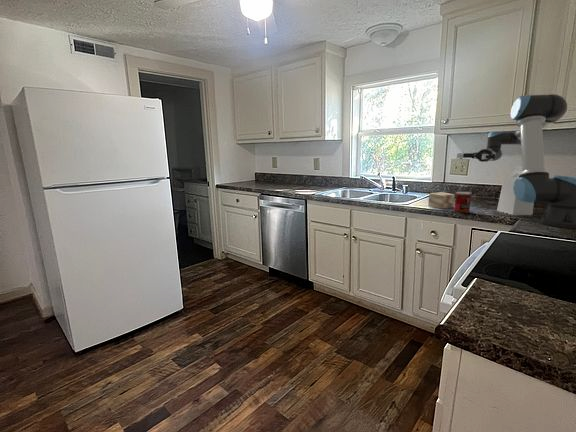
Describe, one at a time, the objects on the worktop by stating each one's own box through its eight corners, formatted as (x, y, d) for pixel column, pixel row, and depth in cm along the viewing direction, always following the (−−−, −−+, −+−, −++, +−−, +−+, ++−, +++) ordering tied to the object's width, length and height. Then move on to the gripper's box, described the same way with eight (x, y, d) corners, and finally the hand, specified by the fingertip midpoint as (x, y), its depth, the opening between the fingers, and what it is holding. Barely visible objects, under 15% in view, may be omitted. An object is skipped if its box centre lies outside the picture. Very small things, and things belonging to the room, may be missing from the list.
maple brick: (439, 204, 203) (441, 192, 202) (453, 207, 194) (454, 194, 193) (428, 205, 200) (429, 193, 198) (441, 208, 191) (442, 195, 189)
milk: (532, 214, 172) (540, 167, 167) (512, 215, 172) (520, 167, 166) (515, 210, 184) (522, 165, 178) (496, 210, 183) (503, 165, 177)
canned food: (460, 213, 178) (463, 193, 175) (450, 210, 185) (453, 191, 183) (472, 212, 179) (475, 193, 177) (462, 209, 187) (464, 191, 184)
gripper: (508, 162, 183) (492, 164, 171) (464, 160, 203) (447, 162, 190) (510, 149, 181) (494, 150, 169) (465, 148, 201) (448, 149, 189)
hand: (469, 156), depth 180 cm, fingers open, 13 cm apart
